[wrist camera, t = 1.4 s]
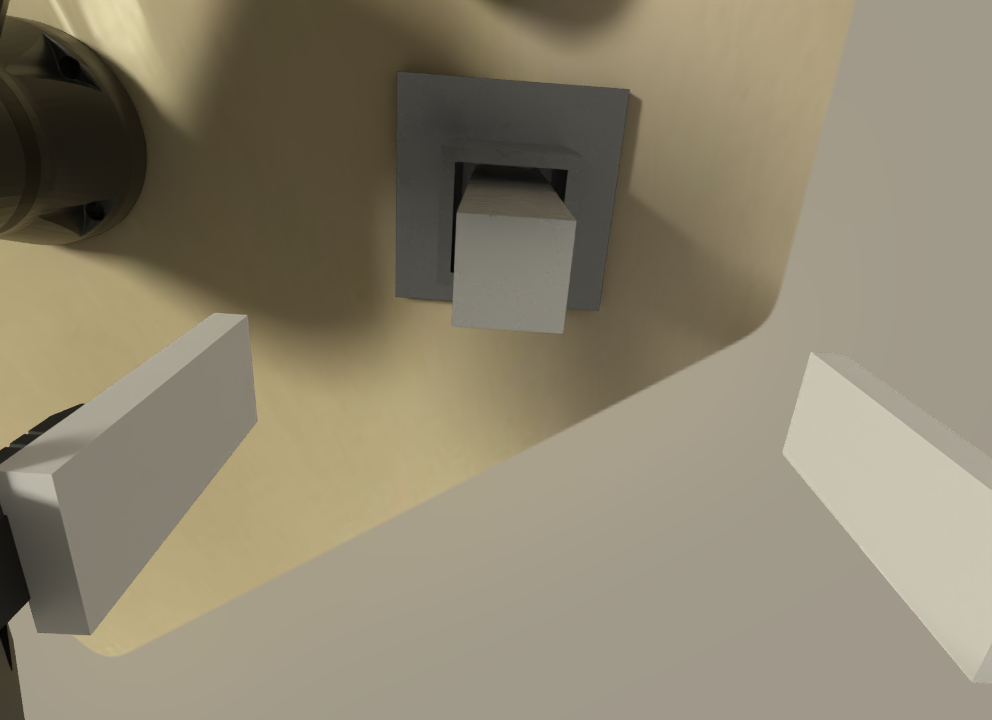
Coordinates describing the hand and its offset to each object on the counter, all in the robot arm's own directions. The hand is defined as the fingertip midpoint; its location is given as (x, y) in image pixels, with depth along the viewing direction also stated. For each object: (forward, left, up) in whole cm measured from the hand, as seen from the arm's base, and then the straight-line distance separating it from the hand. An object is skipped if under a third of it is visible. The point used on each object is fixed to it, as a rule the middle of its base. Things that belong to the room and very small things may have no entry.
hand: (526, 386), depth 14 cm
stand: (0, 0, -34) cm, 34 cm away
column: (0, 0, -33) cm, 33 cm away
